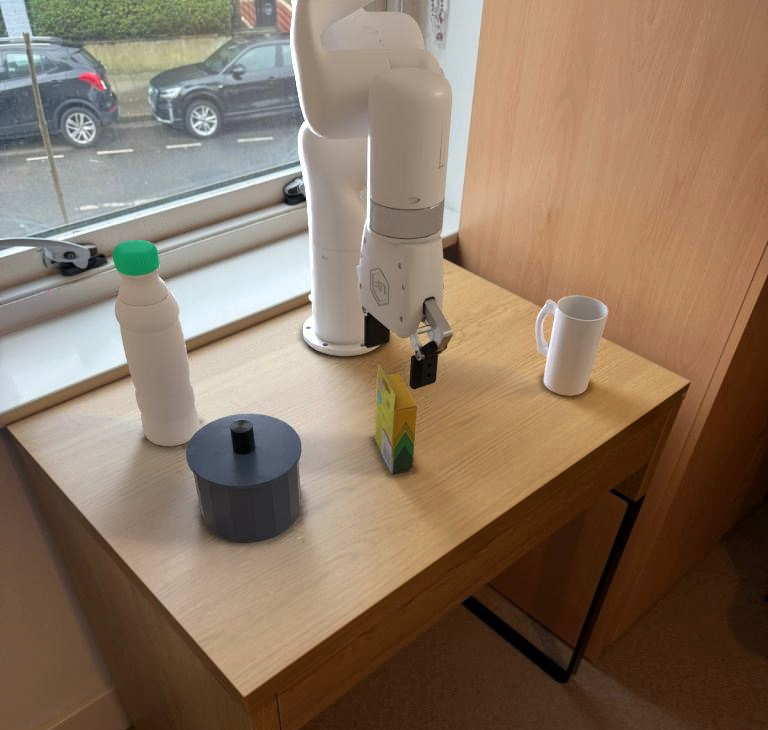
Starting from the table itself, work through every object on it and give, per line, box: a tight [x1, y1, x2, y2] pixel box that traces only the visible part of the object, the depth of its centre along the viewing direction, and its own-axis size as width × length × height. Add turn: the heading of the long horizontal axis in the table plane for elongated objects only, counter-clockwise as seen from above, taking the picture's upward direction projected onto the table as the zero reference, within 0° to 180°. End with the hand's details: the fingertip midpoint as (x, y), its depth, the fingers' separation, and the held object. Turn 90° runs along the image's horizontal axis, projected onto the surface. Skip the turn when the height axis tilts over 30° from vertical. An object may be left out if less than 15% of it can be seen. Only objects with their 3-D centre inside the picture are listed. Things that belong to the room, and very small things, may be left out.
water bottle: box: [112, 239, 201, 447], centre depth 90 cm, size 7×7×25 cm
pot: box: [192, 460, 302, 544], centre depth 86 cm, size 11×11×8 cm
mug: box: [534, 294, 609, 397], centre depth 106 cm, size 10×7×12 cm, turn 43°
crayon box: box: [374, 362, 418, 475], centre depth 92 cm, size 7×3×12 cm, turn 17°
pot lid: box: [185, 413, 302, 489], centre depth 82 cm, size 12×12×4 cm
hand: (398, 364), depth 87 cm, fingers open, 9 cm apart
